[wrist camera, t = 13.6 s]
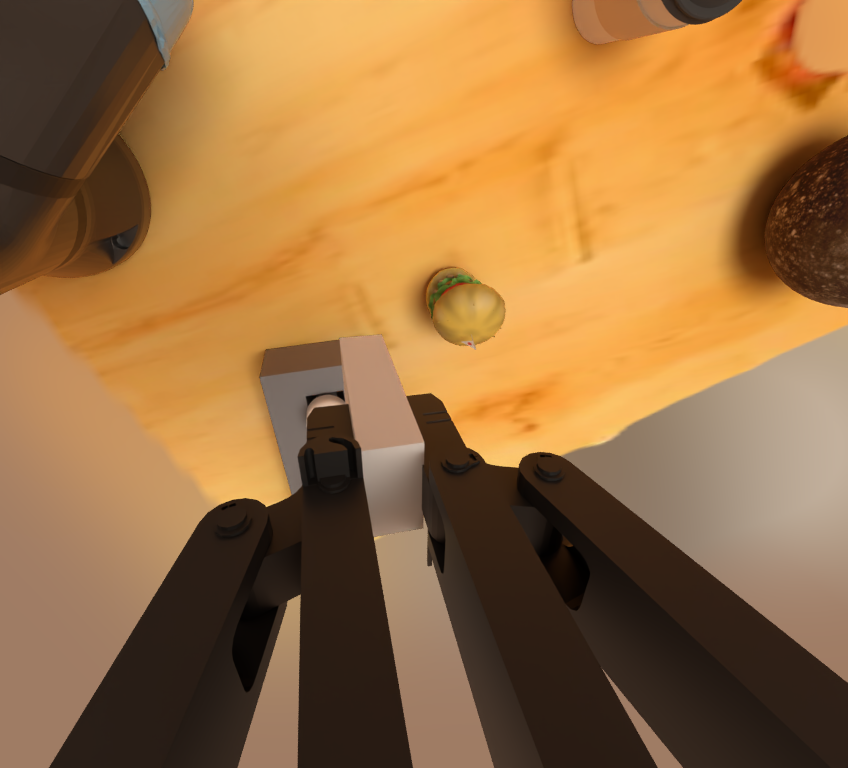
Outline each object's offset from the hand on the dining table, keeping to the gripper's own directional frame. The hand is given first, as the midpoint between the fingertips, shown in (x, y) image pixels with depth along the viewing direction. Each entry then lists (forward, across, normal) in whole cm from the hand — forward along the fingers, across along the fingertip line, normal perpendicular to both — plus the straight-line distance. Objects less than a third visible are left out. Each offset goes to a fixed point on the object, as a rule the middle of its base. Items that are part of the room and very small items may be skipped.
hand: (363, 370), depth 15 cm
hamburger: (+33, +13, -8) cm, 37 cm away
